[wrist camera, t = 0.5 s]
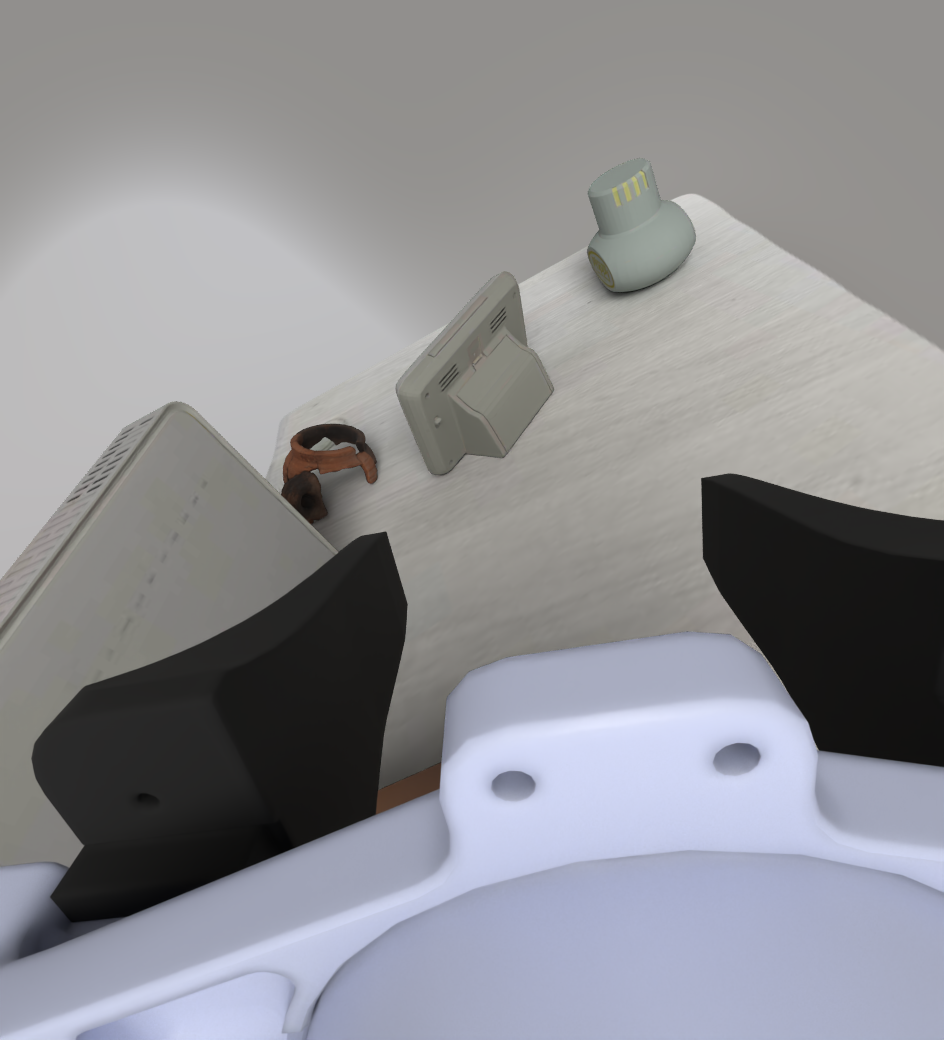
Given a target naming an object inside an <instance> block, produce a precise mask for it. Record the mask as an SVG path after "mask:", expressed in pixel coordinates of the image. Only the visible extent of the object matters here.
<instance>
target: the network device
mask: <svg viewBox="0 0 944 1040" xmlns="http://www.w3.org/2000/svg"><path fill="white" fill-rule="evenodd" d="M337 553H338V551H337V550H336V549H335V548H334V547H333V546H332V545H331V544H330V543H329V542H328V541H327V540H326V539H325V538H324V537H323V536H322V535H321V534H320V533H319V532H318V531H317V530H316V529H315V528H314V527H313V526H312V525H311V524H310V523H309V522H308V521H307V520H306V519H305V518H304V517H303V516H302V515H301V514H300V513H299V512H298V511H297V510H296V509H295V508H294V507H293V506H292V505H291V504H290V503H289V502H288V501H287V500H286V499H285V498H284V497H283V496H282V495H281V494H280V493H279V492H278V491H277V490H276V489H275V488H274V487H273V486H272V485H271V484H270V483H269V482H268V481H267V480H266V479H265V478H263V477H262V476H261V475H260V474H259V473H258V472H257V471H256V470H255V469H254V468H253V467H252V466H251V465H250V464H249V463H248V462H247V461H246V460H245V459H244V458H243V457H242V456H241V455H240V454H239V453H238V452H237V451H236V450H235V449H234V448H233V447H232V446H231V445H230V444H229V443H228V442H227V441H226V440H225V439H224V438H223V437H222V436H221V435H220V434H219V433H218V432H217V431H216V430H215V429H214V428H213V427H212V426H211V425H210V424H209V423H208V422H207V421H206V420H205V419H204V418H203V417H202V416H201V415H200V414H199V413H198V412H197V411H196V410H195V409H194V408H192V407H191V406H189V405H187V404H185V403H182V402H177V401H176V402H170V403H168V404H166V405H164V406H162V407H161V408H159V409H157V410H155V411H153V412H152V413H150V414H148V415H146V416H144V417H142V418H141V419H139V420H137V421H135V422H133V423H132V424H130V425H128V426H126V427H125V428H124V429H122V431H121V432H120V433H119V434H118V436H117V437H116V438H115V439H114V441H113V442H112V443H111V444H110V446H109V447H108V448H107V449H106V450H105V452H104V453H103V454H102V455H101V457H100V458H99V459H98V460H97V461H96V463H95V464H94V465H93V466H92V468H91V469H90V470H89V471H88V473H87V474H86V475H85V476H84V477H83V479H82V480H81V481H80V482H79V484H78V485H77V486H76V487H75V489H74V490H73V491H72V492H71V493H70V495H69V496H68V497H67V499H66V500H65V501H64V502H63V503H62V505H61V506H60V507H59V508H58V510H57V511H56V512H55V513H54V514H53V516H52V517H51V518H50V519H49V521H48V522H47V523H46V524H45V526H44V527H43V528H42V529H41V531H40V532H39V533H38V534H37V536H36V537H35V538H34V539H33V541H32V542H31V543H30V544H29V545H28V547H27V548H26V549H25V550H24V551H23V553H22V554H21V555H20V557H19V558H18V559H17V560H16V561H15V563H14V564H13V565H12V566H11V568H10V569H9V570H8V571H7V572H6V574H5V575H4V576H3V577H2V579H1V580H0V866H8V865H17V864H26V863H34V862H43V861H46V862H57V863H59V864H62V865H65V866H67V867H68V868H70V866H71V865H72V863H73V862H74V860H75V859H76V857H77V856H78V854H79V853H80V851H81V850H82V848H83V847H84V845H83V844H82V843H81V842H80V841H79V839H78V838H77V837H76V835H75V834H74V833H73V831H72V830H71V829H70V827H69V826H68V825H67V823H66V822H65V821H64V819H63V818H62V817H61V815H60V814H59V813H58V812H57V810H56V809H55V808H54V806H53V805H52V804H51V802H50V801H49V800H48V798H47V797H46V796H45V794H44V793H43V791H42V789H41V787H40V786H39V784H38V782H37V780H36V778H35V775H34V770H33V765H32V760H31V757H32V752H33V748H34V743H35V742H36V740H37V739H38V738H39V736H40V735H41V734H42V732H43V731H44V730H45V728H46V727H47V726H48V725H49V724H50V723H51V722H52V721H53V720H54V719H55V717H56V716H57V715H58V714H59V713H60V712H61V711H62V710H63V709H64V708H65V707H66V705H67V704H68V703H69V702H70V701H71V700H72V699H73V698H74V697H75V696H76V695H77V693H78V692H79V691H80V690H81V689H82V688H83V687H84V686H86V685H89V684H93V683H96V682H99V681H102V680H105V679H108V678H111V677H114V676H117V675H120V674H123V673H126V672H129V671H132V670H135V669H138V668H141V667H144V666H146V665H149V664H152V663H154V662H157V661H159V660H162V659H164V658H167V657H169V656H172V655H174V654H177V653H179V652H182V651H184V650H186V649H188V648H191V647H193V646H195V645H197V644H200V643H202V642H204V641H206V640H208V639H210V638H212V637H214V636H216V635H218V634H219V633H221V632H223V631H225V630H227V629H229V628H231V627H233V626H235V625H237V624H239V623H241V622H243V621H244V620H246V619H248V618H249V617H251V616H253V615H254V614H256V613H258V612H259V611H261V610H263V609H264V608H266V607H267V606H269V605H270V604H272V603H273V602H275V601H276V600H278V599H279V598H281V597H282V596H284V595H285V594H286V593H288V592H289V591H290V590H292V589H293V588H294V587H296V586H297V585H298V584H300V583H301V582H302V581H304V580H305V579H306V578H308V577H309V576H310V575H312V574H313V573H314V572H315V571H317V570H318V569H319V568H320V567H321V566H323V565H324V564H325V563H326V562H327V561H329V560H330V559H331V558H332V557H334V556H335V555H336V554H337Z"/></svg>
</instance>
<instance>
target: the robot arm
mask: <svg viewBox="0 0 944 1040" xmlns="http://www.w3.org/2000/svg"><path fill="white" fill-rule="evenodd" d="M701 485H702V531H703V559H704V561H705V563H706V565H707V567H708V570H709V572H710V574H711V576H712V578H713V580H714V582H715V584H716V586H717V588H718V590H719V592H720V593H721V595H722V596H723V598H724V599H725V601H726V602H727V603H728V605H729V606H730V608H731V609H732V610H733V612H734V613H735V615H736V616H737V618H738V619H739V620H740V622H741V623H742V625H743V626H744V627H745V629H746V630H747V632H748V633H749V634H750V636H751V637H752V639H753V640H754V641H755V643H756V644H757V645H758V647H759V648H760V650H761V651H762V652H763V654H764V655H765V657H766V658H767V659H768V661H769V662H770V664H771V665H772V667H773V668H774V670H775V671H776V673H777V674H778V676H779V677H780V679H781V681H782V682H783V684H784V686H785V688H786V689H787V691H788V692H787V691H786V690H785V688H784V687H783V685H782V684H781V682H780V681H779V679H778V678H777V676H776V675H775V673H774V672H773V671H772V669H771V668H770V666H769V665H768V663H767V662H766V660H765V659H764V657H763V656H762V655H761V654H760V653H759V652H757V651H756V650H754V649H753V648H751V647H749V646H748V645H746V644H745V643H743V642H742V641H740V640H738V639H737V638H735V637H734V636H732V635H731V634H718V633H703V632H688V631H687V632H680V633H673V634H666V635H659V636H652V637H645V638H638V639H631V640H624V641H617V642H610V643H603V644H596V645H589V646H582V647H575V648H568V649H561V650H554V651H547V652H540V653H533V654H526V655H519V656H512V657H506V658H504V659H501V660H498V661H495V662H493V663H490V664H487V665H485V666H482V667H479V668H477V669H474V670H471V671H469V672H468V673H467V674H466V676H465V677H464V678H463V679H462V680H461V681H460V683H459V684H458V685H457V686H456V687H455V688H454V689H453V691H452V692H451V693H450V694H449V695H448V696H447V702H446V714H445V726H444V738H443V751H442V763H441V777H440V789H438V790H435V791H433V792H430V793H428V794H426V795H423V796H421V797H418V798H416V799H413V800H411V801H408V802H406V803H404V804H401V805H399V806H396V807H394V808H391V809H389V810H387V811H384V812H382V813H379V814H377V815H376V807H377V796H378V785H379V774H380V765H381V756H382V747H383V738H384V731H385V726H386V720H387V715H388V711H389V707H390V703H391V698H392V694H393V690H394V686H395V681H396V677H397V673H398V669H399V664H400V660H401V655H402V651H403V646H404V642H405V634H406V622H407V605H408V604H407V601H406V597H405V594H404V590H403V587H402V583H401V580H400V577H399V573H398V570H397V566H396V563H395V560H394V556H393V553H392V549H391V546H390V543H389V539H388V536H387V532H381V533H376V534H370V535H364V536H360V537H359V538H357V539H355V540H354V541H352V542H351V543H350V544H348V545H347V546H346V547H345V548H343V549H342V550H341V551H340V552H338V553H337V554H336V555H335V556H334V557H332V558H331V559H330V560H329V561H327V562H326V563H325V564H324V565H323V566H321V567H320V568H319V569H318V570H317V571H315V572H314V573H313V574H312V575H310V576H309V577H308V578H306V579H305V580H304V581H302V582H301V583H300V584H298V585H297V586H296V587H294V588H293V589H292V590H290V591H289V592H288V593H286V594H285V595H284V596H282V597H281V598H279V599H278V600H276V601H275V602H273V603H272V604H270V605H269V606H267V607H266V608H264V609H263V610H261V611H259V612H258V613H256V614H254V615H253V616H251V617H249V618H248V619H246V620H244V621H243V622H241V623H239V624H237V625H235V626H233V627H231V628H229V629H227V630H225V631H223V632H221V633H219V634H218V635H216V636H214V637H212V638H210V639H208V640H206V641H204V642H202V643H200V644H197V645H195V646H193V647H191V648H188V649H186V650H184V651H182V652H179V653H177V654H174V655H172V656H169V657H167V658H164V659H162V660H159V661H157V662H154V663H152V664H149V665H146V666H144V667H141V668H138V669H135V670H132V671H129V672H126V673H123V674H120V675H117V676H114V677H111V678H108V679H105V680H102V681H99V682H96V683H93V684H89V685H86V686H84V687H83V688H82V689H81V690H80V691H79V692H78V693H77V695H76V696H75V697H74V698H73V699H72V700H71V701H70V702H69V703H68V704H67V705H66V707H65V708H64V709H63V710H62V711H61V712H60V713H59V714H58V715H57V716H56V717H55V719H54V720H53V721H52V722H51V723H50V724H49V725H48V726H47V727H46V728H45V730H44V731H43V732H42V734H41V735H40V736H39V738H38V739H37V740H36V742H35V743H34V748H33V752H32V757H31V760H32V765H33V770H34V775H35V778H36V780H37V782H38V784H39V786H40V787H41V789H42V791H43V793H44V794H45V796H46V797H47V798H48V800H49V801H50V802H51V804H52V805H53V806H54V808H55V809H56V810H57V812H58V813H59V814H60V815H61V817H62V818H63V819H64V821H65V822H66V823H67V825H68V826H69V827H70V829H71V830H72V831H73V833H74V834H75V835H76V837H77V838H78V839H79V841H80V842H81V843H82V844H83V845H84V847H83V848H82V850H81V851H80V853H79V854H78V856H77V857H76V859H75V860H74V862H73V863H72V865H71V866H70V868H68V867H67V866H65V865H62V864H59V863H57V862H46V861H43V862H34V863H26V864H17V865H8V866H0V1040H944V520H933V519H926V518H918V517H911V516H905V515H899V514H893V513H887V512H881V511H875V510H870V509H865V508H860V507H856V506H851V505H847V504H843V503H839V502H835V501H831V500H827V499H823V498H819V497H816V496H812V495H808V494H805V493H801V492H798V491H795V490H791V489H788V488H784V487H781V486H778V485H774V484H771V483H768V482H764V481H761V480H758V479H754V478H750V477H747V476H742V475H738V474H724V475H718V476H712V477H706V478H701ZM788 693H789V694H788ZM814 742H815V743H814ZM815 744H816V745H817V747H818V749H819V751H818V750H817V749H816V746H815Z"/></svg>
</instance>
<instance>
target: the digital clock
mask: <svg viewBox="0 0 944 1040" xmlns="http://www.w3.org/2000/svg"><path fill="white" fill-rule="evenodd" d="M553 391H554V387H553V385H552V383H551V381H550V379H549V377H548V375H547V373H546V371H545V369H544V367H543V365H542V362H541V360H540V358H539V357H538V355H537V353H536V352H535V351H534V350H533V349H531V348H528V345H527V338H526V331H525V324H524V318H523V311H522V304H521V297H520V292H519V286H518V284H517V281H516V279H515V278H514V276H513V275H512V274H510V273H509V272H505V271H504V272H501V273H500V274H498V275H496V276H494V277H493V278H491V279H490V280H489V281H488V282H487V283H486V284H485V285H484V286H483V287H482V288H481V289H480V290H479V291H478V292H477V293H476V295H475V296H474V297H473V298H472V299H471V300H470V301H469V302H468V303H467V304H466V306H465V307H464V308H463V309H462V310H461V311H460V312H459V313H458V314H457V315H456V317H455V318H454V319H453V320H452V321H451V322H450V323H449V324H448V325H447V326H446V328H445V329H444V330H443V331H442V332H441V333H440V334H439V335H438V336H437V337H436V339H435V340H434V341H433V342H432V343H431V344H430V345H429V346H428V347H427V348H426V350H425V351H424V352H423V353H422V354H421V355H420V356H419V357H418V358H417V359H416V361H415V362H414V363H413V364H412V365H411V366H410V367H409V368H408V370H407V371H406V372H405V373H404V374H403V375H402V377H401V378H400V379H399V380H398V382H397V384H396V393H397V396H398V399H399V402H400V405H401V407H402V409H403V412H404V414H405V417H406V419H407V421H408V424H409V426H410V428H411V431H412V433H413V435H414V438H415V440H416V443H417V445H418V447H419V450H420V452H421V454H422V457H423V459H424V461H425V464H426V466H427V468H428V470H429V471H430V473H431V474H435V475H442V474H445V473H447V472H449V471H450V470H451V469H452V468H453V467H454V466H455V465H456V464H457V462H458V461H459V460H460V459H461V457H462V456H463V455H464V454H473V455H481V456H490V457H499V458H503V457H504V456H505V455H506V454H507V452H508V451H509V450H510V448H511V447H512V446H513V444H514V443H515V442H516V440H517V439H518V438H519V436H520V435H521V434H522V432H523V431H524V430H525V428H526V427H527V426H528V424H529V423H530V422H531V420H532V419H533V418H534V416H535V415H536V414H537V412H538V411H539V409H540V408H541V407H542V405H543V404H544V403H545V401H546V400H547V399H548V397H549V396H550V395H551V393H552V392H553Z"/></svg>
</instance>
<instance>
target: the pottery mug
mask: <svg viewBox="0 0 944 1040" xmlns="http://www.w3.org/2000/svg"><path fill="white" fill-rule="evenodd" d="M324 437H326V438H328V439H330V440H331V441H333V442H334V443H335V445H338V444H340V443H341V442H348V443H352V444H356V446H357V449H358V450H359V453H357V454H356V450H355V448H353V447H351V446H348V447H345V448H342V449H338V450H330V451H314V450H310V448H312V447H313V446H314V445H315V444H317V443H318V442H320V441H321V440H322V438H324ZM290 443H291V448H292V450H291V451H290V452H289V454H288V455H287V457H286V459H285V462H284V465H283V481H284V483H285V484H284V487H283V488H282V493H281V495H282V496H283V497H284V498H285V499H286V500H287V501H288V502H289V503H290V504H291V505H292V506H293V507H294V508H295V509H296V510H297V511H298V512H299V513H300V514H301V515H302V516H303V517H304V518H305V519H306V520H307V521H308V522H309V523H310V524H312V523H313V520H320V519H322V518H324V517H326V516H327V515H328V512H327V510H326V508H325V506H324V503H323V500H322V495H321V485H320V483H319V481H318V478H317V477H316V475H315V474H314V473H311V471H313V470H316V469H318V470H319V472H320V474H325V473H329V472H337V471H340V470H341V469H345V468H353V467H356V466H359V465H360V466H361V467H362V469H363V470H364V472H365V475H366V480H367V482H368V483H370V484H372V483H373V482H375V481H376V480H377V469H376V466H375V464H376V463H377V461H376V458H375V455H374V453H373V451H372V450H371V448H370V447H369V446H368V445H367V444H366V443H365V435H364V433H363V432H362V431H360V430H359V429H356V428H354V427H352V426H348V425H342V424H321V425H316V426H312V427H309V428H306V429H303V430H302V431H300V432H298V433H297V434H296V435H295V436H293V438H292V439H291V442H290ZM302 446H303V447H302Z"/></svg>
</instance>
